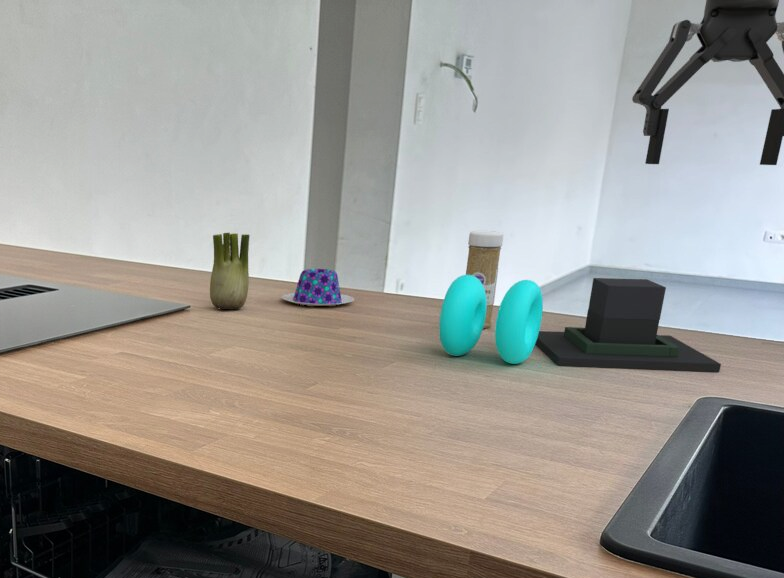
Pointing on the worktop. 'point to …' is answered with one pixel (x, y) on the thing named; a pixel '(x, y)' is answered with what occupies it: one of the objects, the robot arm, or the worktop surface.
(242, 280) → the fennel bulb
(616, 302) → the graphite pad
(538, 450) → the worktop surface
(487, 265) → the sprinkles bottle
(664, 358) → the base mat
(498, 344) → the donuts
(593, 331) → the black rectangular block
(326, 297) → the pudding
